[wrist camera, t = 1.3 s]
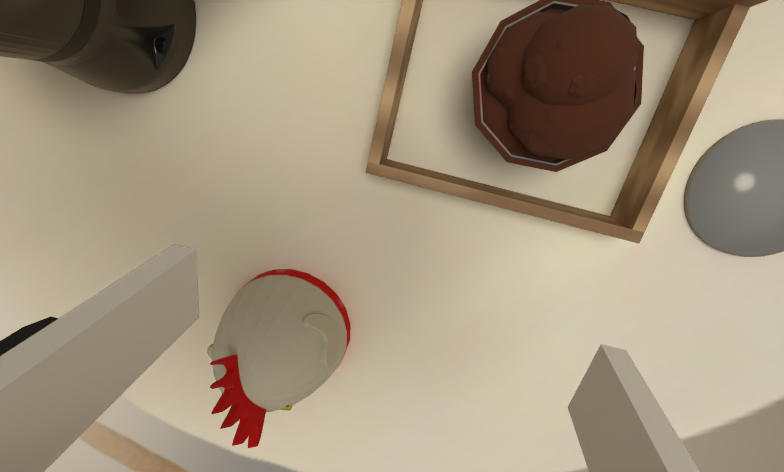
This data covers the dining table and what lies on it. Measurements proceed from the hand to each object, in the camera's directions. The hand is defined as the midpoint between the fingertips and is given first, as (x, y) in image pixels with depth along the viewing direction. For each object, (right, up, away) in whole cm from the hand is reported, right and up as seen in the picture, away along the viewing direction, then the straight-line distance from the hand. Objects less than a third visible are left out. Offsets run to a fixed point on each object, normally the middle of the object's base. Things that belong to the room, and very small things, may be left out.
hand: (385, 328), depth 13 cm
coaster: (+33, +7, +22) cm, 40 cm away
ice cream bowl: (+12, +16, +22) cm, 30 cm away
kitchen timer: (-11, -7, +32) cm, 35 cm away
